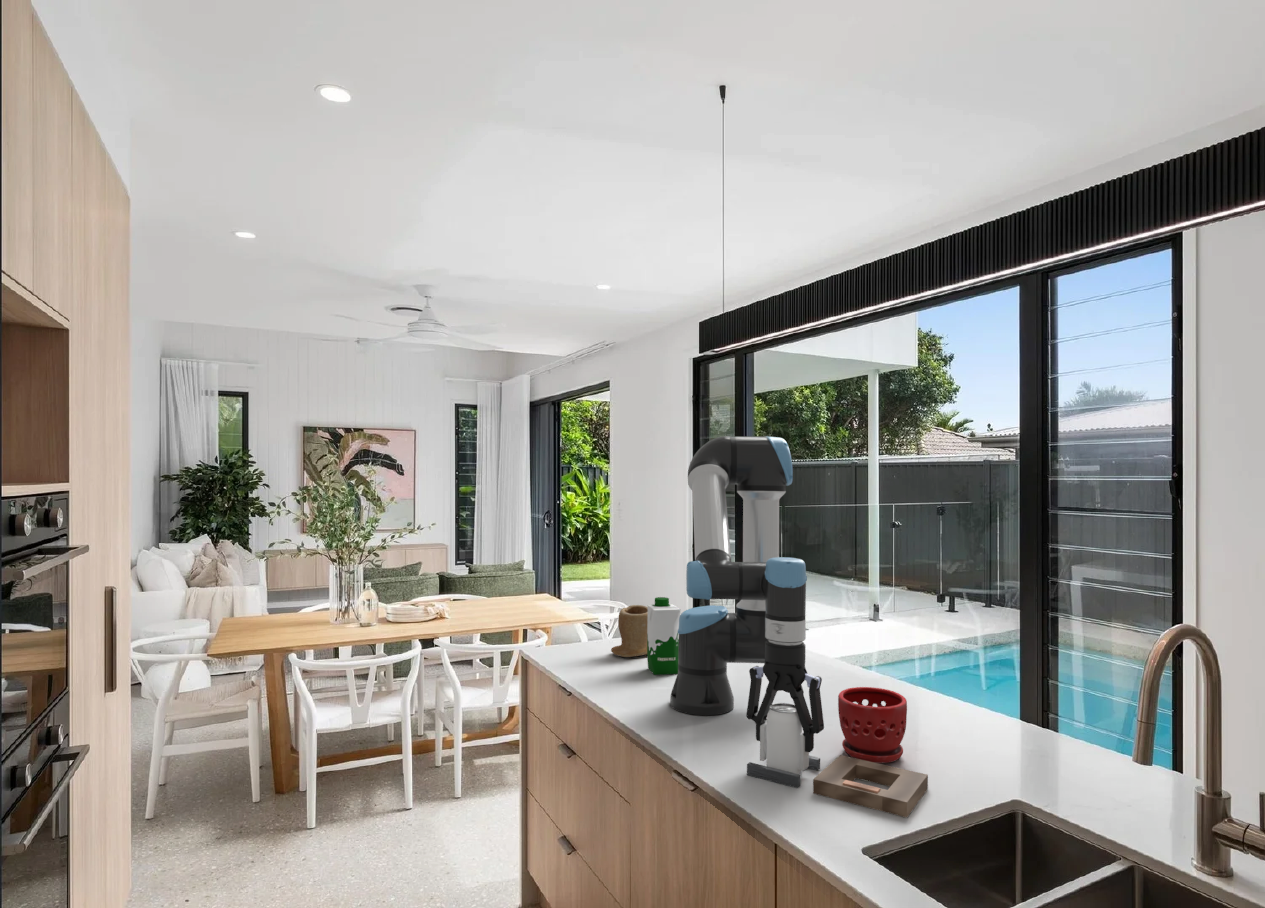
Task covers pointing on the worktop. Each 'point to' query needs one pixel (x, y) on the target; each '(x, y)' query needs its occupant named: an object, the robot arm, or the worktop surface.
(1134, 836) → the worktop surface
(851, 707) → the plant pot
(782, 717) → the can
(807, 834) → the worktop surface
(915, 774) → the plate
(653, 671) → the milk carton
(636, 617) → the brown boot
